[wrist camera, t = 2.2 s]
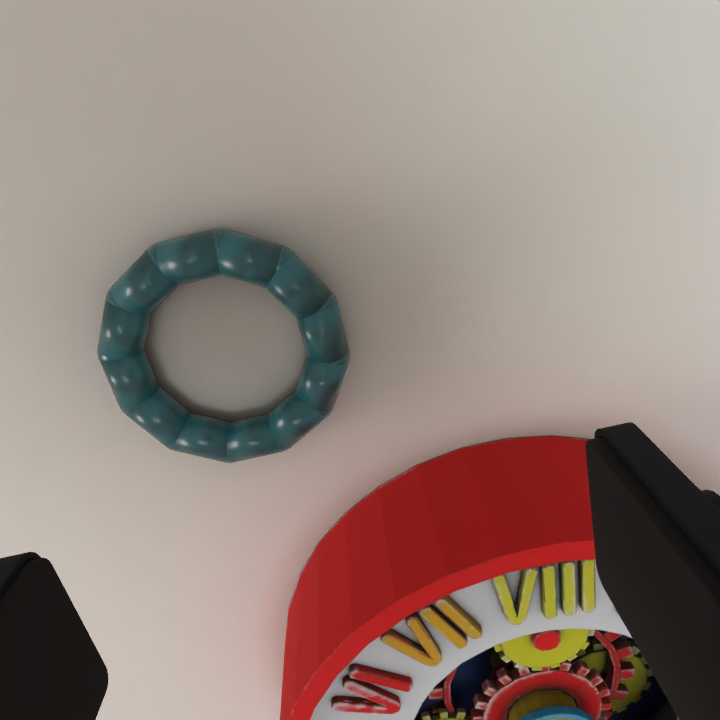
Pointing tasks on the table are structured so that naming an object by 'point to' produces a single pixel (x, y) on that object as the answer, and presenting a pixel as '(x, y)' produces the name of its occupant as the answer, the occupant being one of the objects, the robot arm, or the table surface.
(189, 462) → the table surface
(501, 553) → the toy clock
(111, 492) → the table surface
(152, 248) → the ring
